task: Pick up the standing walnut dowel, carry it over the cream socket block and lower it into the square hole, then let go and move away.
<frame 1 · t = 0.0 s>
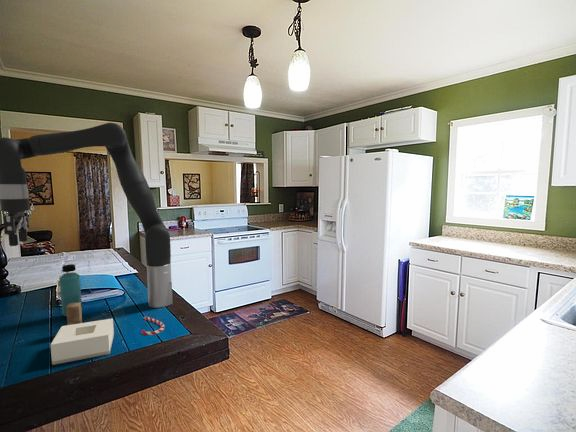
hand: (18, 243, 108), 29 cm above the table, tool pointing down, fingers open, 8 cm apart
peg: (75, 333, 104), on the table
beverage bottle: (72, 316, 117), on the table
candy cane: (150, 327, 110), on the table
socket block: (85, 348, 94), on the table
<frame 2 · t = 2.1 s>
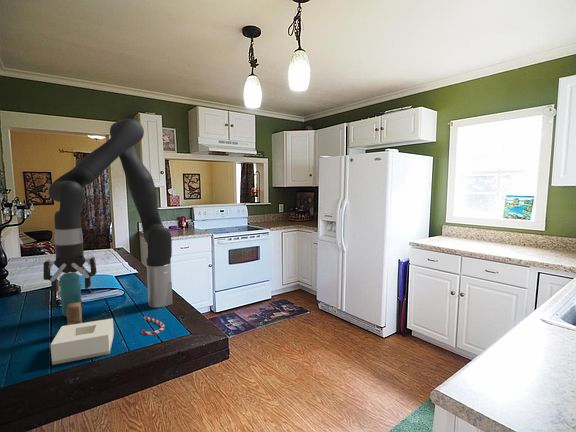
hand: (71, 289, 103), 15 cm above the table, tool pointing down, fingers open, 8 cm apart
nothing on the table moved.
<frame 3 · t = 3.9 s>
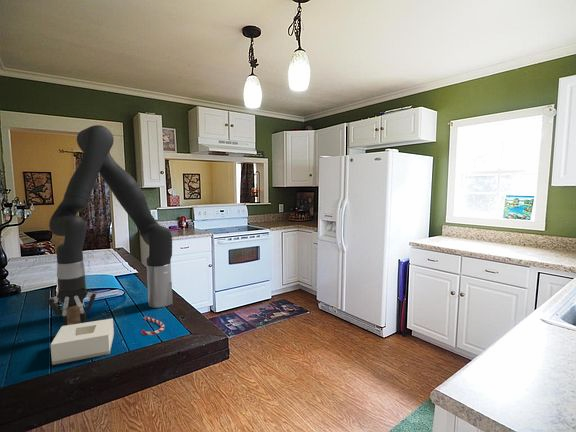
hand: (75, 324, 104), 3 cm above the table, tool pointing down, fingers closed on peg, 3 cm apart
peg: (75, 333, 104), on the table, touching gripper
everything else where it was.
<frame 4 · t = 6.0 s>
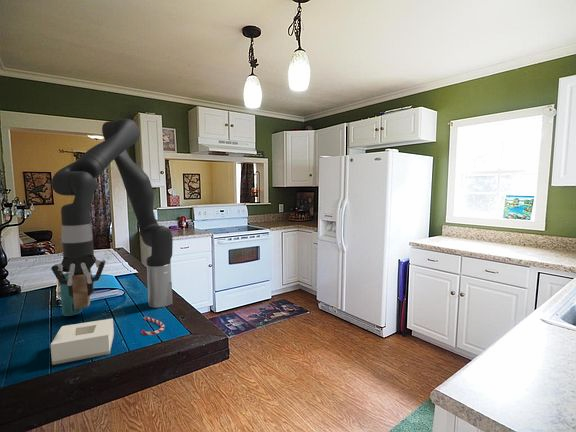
hand: (81, 295, 93), 17 cm above the table, tool pointing down, fingers closed on peg, 3 cm apart
peg: (82, 305, 93), point 14 cm above the table, touching gripper
everything else where it was.
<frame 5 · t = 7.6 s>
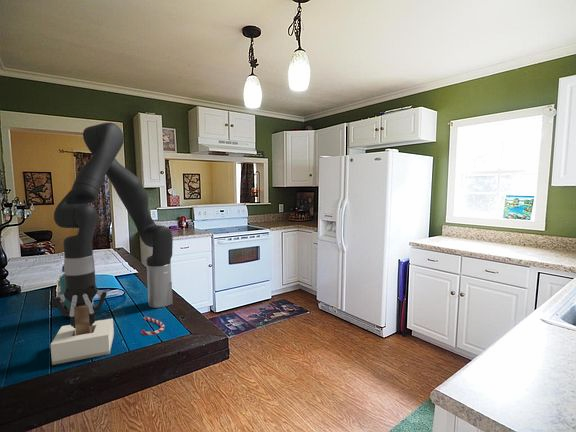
hand: (83, 325, 94), 8 cm above the table, tool pointing down, fingers closed on peg, 3 cm apart
peg: (84, 335, 94), point 4 cm above the table, touching gripper
everything else where it was.
when the fingers open (7 cm above the table, at t = 8.5 s): peg drops 2 cm, resting on socket block.
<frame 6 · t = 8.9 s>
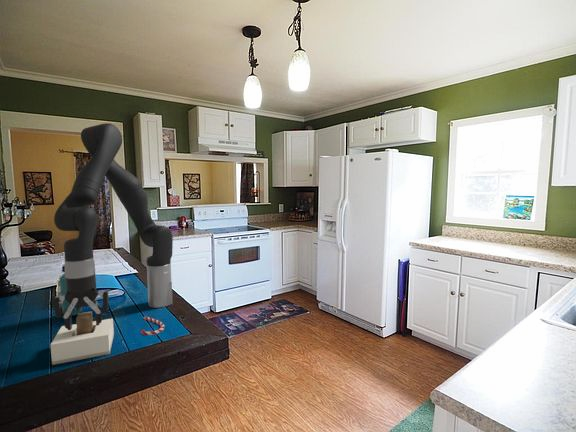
hand: (84, 326, 94), 7 cm above the table, tool pointing down, fingers open, 6 cm apart
peg: (86, 345, 94), point 1 cm above the table, touching socket block
everything else where it was.
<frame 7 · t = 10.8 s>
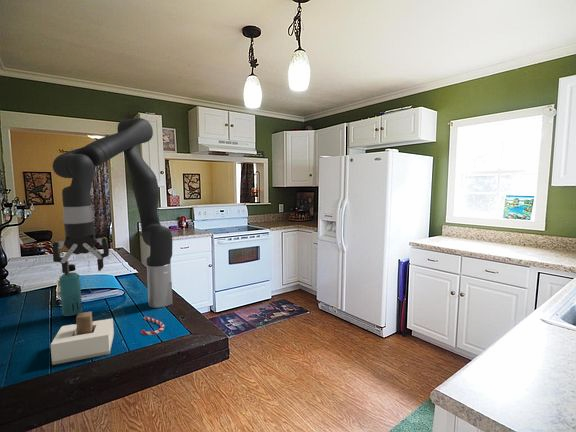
hand: (83, 272, 96), 23 cm above the table, tool pointing down, fingers open, 8 cm apart
nothing on the table moved.
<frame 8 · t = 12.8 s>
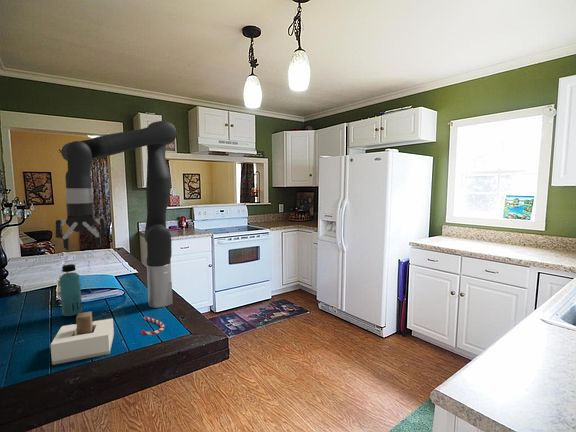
hand: (83, 248, 106), 28 cm above the table, tool pointing down, fingers open, 8 cm apart
nothing on the table moved.
at the end: peg 0.2 cm off-centre on the socket block, point 1.0 cm above the socket block's base; peg tilted 0°; the gripper is holding nothing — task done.
